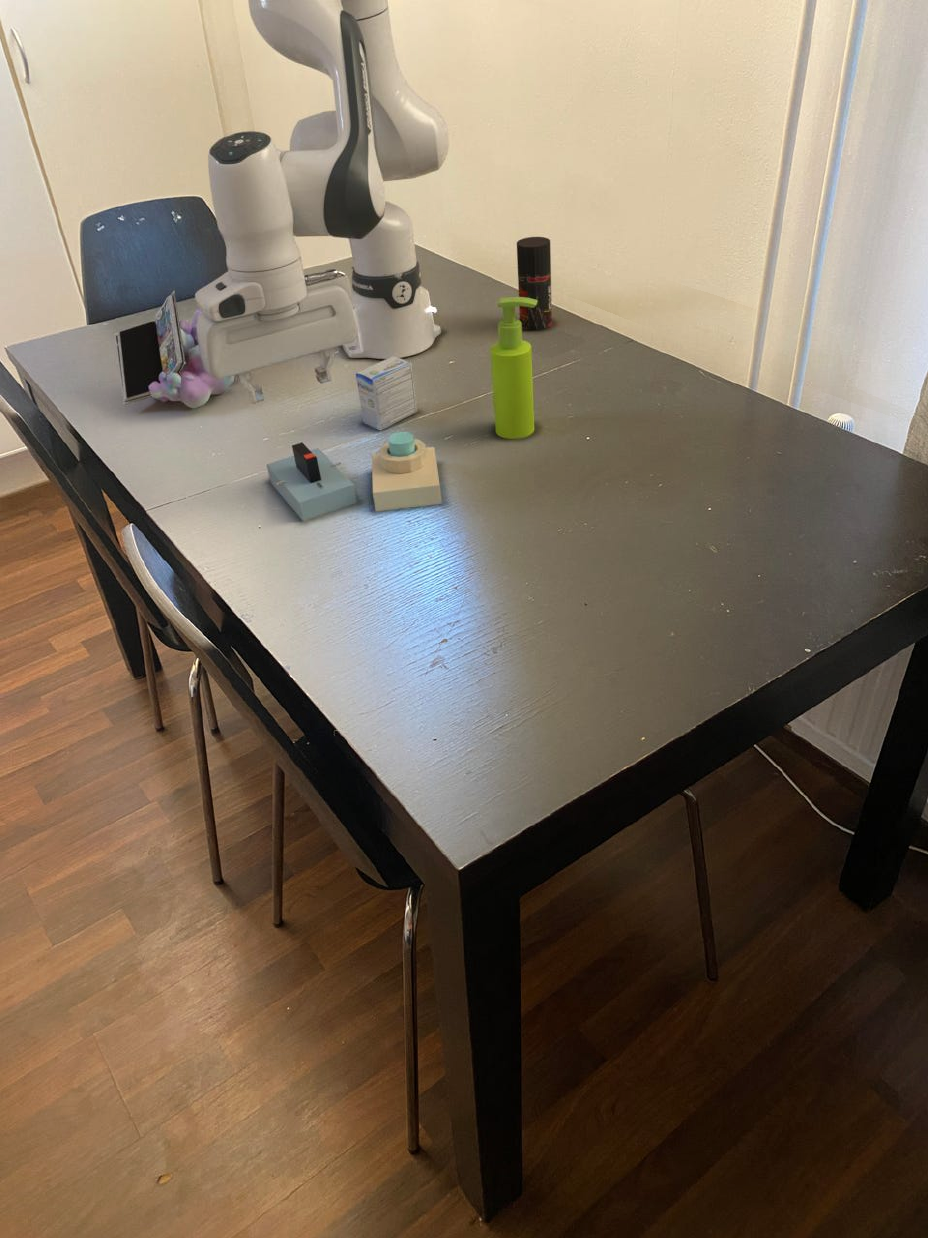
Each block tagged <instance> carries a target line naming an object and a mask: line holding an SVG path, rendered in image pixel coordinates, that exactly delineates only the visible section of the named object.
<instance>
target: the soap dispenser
mask: <svg viewBox="0 0 928 1238" xmlns="http://www.w3.org/2000/svg"><path fill="white" fill-rule="evenodd" d="M537 302H538V300H535V299H531V298H526V297H519V296H511V297H501V298H499V300H498V302H497V308H502V320H500V321H499V322H498V323H497V335H498V337H497V338H498V341H497V342H496V343H494V344H493V345H491V346H490V349H489V350H490V351H489V352H490V365H491V379H492V394H493V395H492V396H493V408H494V409H493V411H494V426H495V433H496V435H497V436H499V437H501V438H503V439H507V440H518V439H519V440H520V439H524V438H526V437H527V438H528V437H529V436H531V435H532V434H533V433H534V431H535V408H534V406H535V405H534V382H533V379H534V378H533V357H532V356H533V354H532V353H533V352H532V344H531V343H530V342H529V341H526V340H523V329H522V323H521V321H520V319H517V318H516V307H519V306H525V307H531V308H534V307H535V306H536V304H537Z"/></svg>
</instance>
